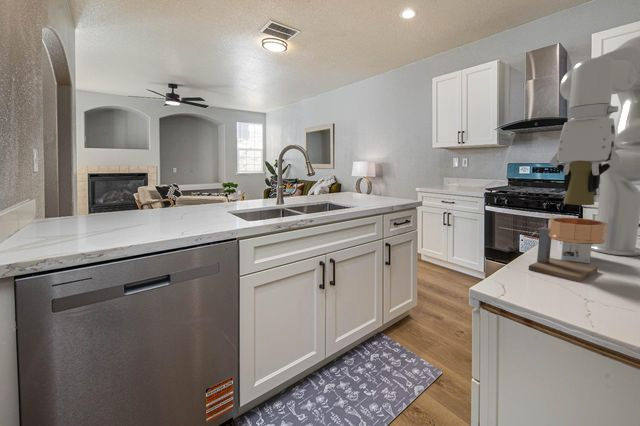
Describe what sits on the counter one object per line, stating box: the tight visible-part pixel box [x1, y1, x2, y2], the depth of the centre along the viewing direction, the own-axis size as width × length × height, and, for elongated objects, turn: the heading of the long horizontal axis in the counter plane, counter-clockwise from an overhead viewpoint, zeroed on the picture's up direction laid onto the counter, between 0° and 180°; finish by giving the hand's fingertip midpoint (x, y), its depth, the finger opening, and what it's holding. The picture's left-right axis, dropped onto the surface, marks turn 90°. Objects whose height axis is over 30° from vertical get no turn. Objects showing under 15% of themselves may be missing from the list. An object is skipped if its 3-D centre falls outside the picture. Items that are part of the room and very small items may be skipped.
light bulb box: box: [556, 240, 592, 264], centre depth 92 cm, size 11×7×11 cm, turn 148°
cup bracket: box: [528, 217, 608, 283], centre depth 80 cm, size 12×13×14 cm
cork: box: [563, 161, 595, 206], centre depth 77 cm, size 6×6×11 cm
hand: (580, 190), depth 77 cm, fingers closed on cork, 3 cm apart
